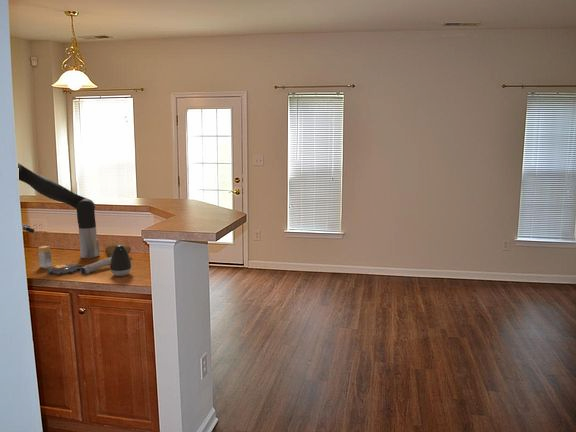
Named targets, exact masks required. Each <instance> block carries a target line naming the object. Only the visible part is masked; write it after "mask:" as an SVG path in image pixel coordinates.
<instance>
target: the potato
mask: <svg viewBox="0 0 576 432" xmlns="http://www.w3.org/2000/svg"><path fill="white" fill-rule="evenodd" d="M119 245H121V246H124V247H125V248H126V250H127V252H128V254H130V253H131V251H132V249H131V246H130V245H129V244H126V243H112V244H108V245H106V247H105V256H106V257H107V258H110V257H112V253H113V250H114V249H115V247H116V246H119Z"/></svg>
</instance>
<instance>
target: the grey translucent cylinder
mask: <svg viewBox="0 0 576 432" xmlns="http://www.w3.org/2000/svg"><path fill="white" fill-rule="evenodd" d="M37 249H38V251H37V252H38V259H39V261H38V262H39V268H40V267H41V268H42V269H47V268H52V267H53V266H52V254H51V246H49V245H42V246H39V247H37Z"/></svg>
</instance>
